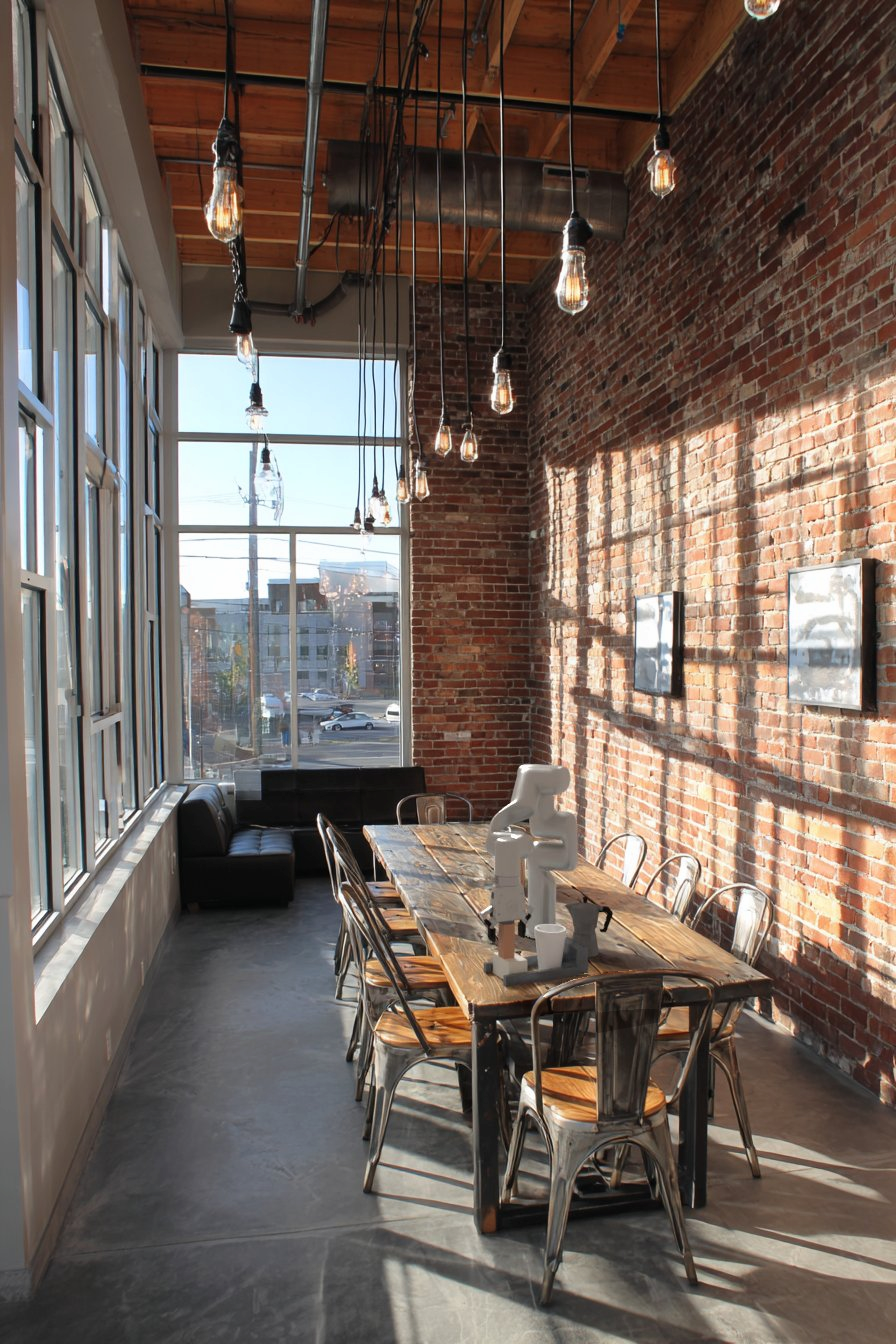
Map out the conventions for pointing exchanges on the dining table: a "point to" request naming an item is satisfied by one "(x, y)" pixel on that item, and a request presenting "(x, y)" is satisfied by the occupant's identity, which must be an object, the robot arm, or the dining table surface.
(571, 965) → the grey frame
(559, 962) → the foam cup
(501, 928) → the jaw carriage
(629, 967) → the dining table surface
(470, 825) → the dining table surface
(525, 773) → the robot arm
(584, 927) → the coffeepot
